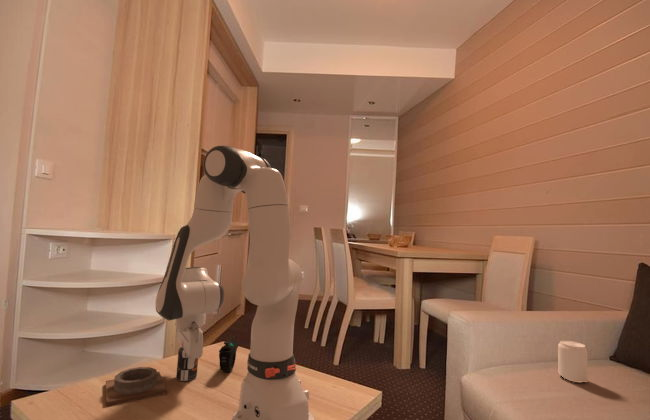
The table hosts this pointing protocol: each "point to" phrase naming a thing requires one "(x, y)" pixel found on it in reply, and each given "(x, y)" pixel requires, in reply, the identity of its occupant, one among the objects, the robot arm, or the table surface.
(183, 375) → the pill bottle
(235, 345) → the controller
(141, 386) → the holder
